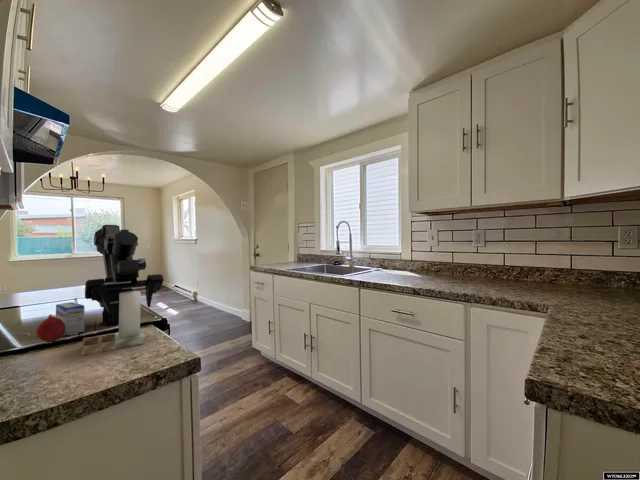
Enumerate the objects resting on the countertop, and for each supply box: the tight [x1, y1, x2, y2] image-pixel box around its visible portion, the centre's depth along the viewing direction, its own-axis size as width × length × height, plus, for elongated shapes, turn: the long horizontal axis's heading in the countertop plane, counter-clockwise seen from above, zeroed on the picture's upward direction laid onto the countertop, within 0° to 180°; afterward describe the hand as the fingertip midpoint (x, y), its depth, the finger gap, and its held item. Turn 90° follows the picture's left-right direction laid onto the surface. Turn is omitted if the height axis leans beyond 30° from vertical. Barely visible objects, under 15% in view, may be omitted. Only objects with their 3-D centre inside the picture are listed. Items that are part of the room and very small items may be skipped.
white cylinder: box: [118, 290, 142, 338], centre depth 78 cm, size 5×5×12 cm
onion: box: [36, 314, 66, 344], centre depth 77 cm, size 6×6×8 cm
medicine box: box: [55, 301, 85, 336], centre depth 85 cm, size 8×4×9 cm, turn 62°
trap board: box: [80, 327, 146, 356], centre depth 76 cm, size 14×8×2 cm, turn 128°
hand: (130, 309), depth 77 cm, fingers open, 9 cm apart
